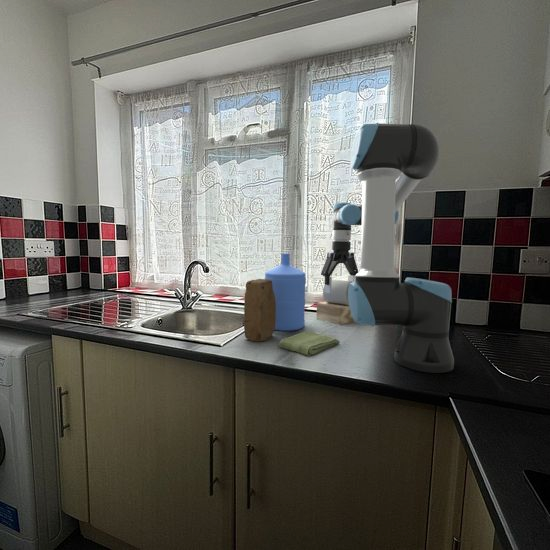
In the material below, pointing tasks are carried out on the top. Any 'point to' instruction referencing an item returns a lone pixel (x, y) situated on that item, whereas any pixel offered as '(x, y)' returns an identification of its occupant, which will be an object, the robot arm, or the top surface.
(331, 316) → the oak brick
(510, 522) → the top surface
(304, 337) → the washcloth
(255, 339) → the block
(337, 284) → the toilet paper
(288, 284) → the water jug
